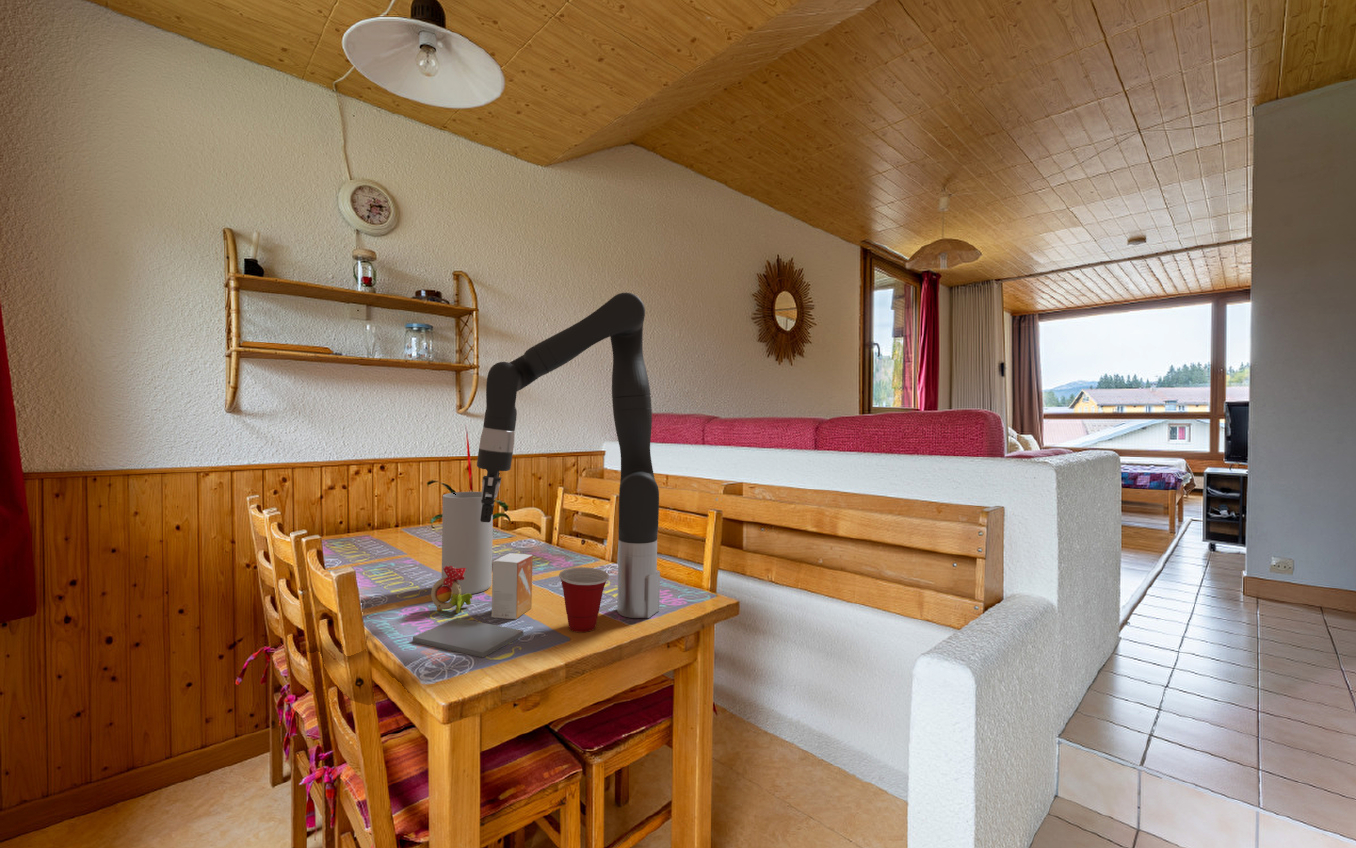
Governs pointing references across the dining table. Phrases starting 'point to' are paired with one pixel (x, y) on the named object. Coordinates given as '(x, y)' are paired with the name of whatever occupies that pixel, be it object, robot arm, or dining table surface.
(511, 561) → the small box
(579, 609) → the plastic cup
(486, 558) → the cylinder vase
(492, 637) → the slate tile
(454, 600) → the bird rattle
